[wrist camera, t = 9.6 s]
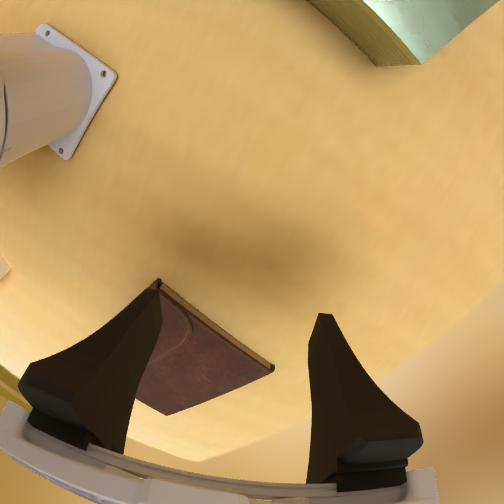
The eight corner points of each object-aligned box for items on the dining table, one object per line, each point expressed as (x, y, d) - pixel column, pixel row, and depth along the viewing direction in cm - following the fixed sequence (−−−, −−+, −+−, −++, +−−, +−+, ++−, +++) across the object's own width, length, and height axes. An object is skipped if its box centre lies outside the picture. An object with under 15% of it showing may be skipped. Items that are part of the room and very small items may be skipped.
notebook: (275, 361, 31) (274, 376, 29) (170, 408, 39) (167, 419, 38) (160, 274, 26) (152, 288, 24) (82, 350, 34) (76, 361, 33)
